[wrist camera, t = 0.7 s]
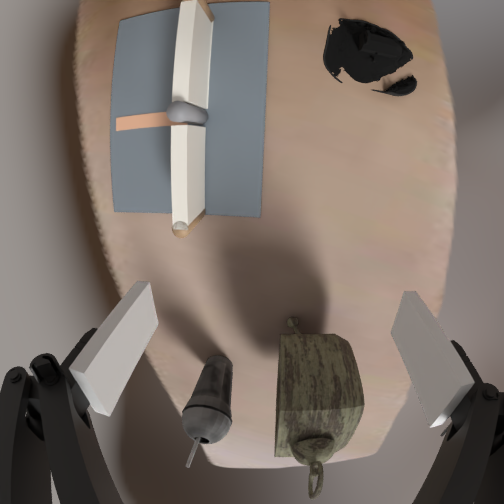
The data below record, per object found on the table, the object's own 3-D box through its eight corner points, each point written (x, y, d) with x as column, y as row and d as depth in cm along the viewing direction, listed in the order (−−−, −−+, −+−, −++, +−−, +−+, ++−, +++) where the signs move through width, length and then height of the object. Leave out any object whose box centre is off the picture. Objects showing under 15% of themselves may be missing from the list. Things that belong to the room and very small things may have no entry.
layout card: (121, 21, 24) (119, 20, 23) (269, 3, 23) (269, 1, 22) (115, 211, 35) (113, 212, 34) (260, 216, 34) (260, 217, 33)
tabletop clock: (280, 307, 39) (278, 479, 16) (342, 307, 38) (386, 468, 15) (276, 375, 44) (271, 510, 22) (328, 374, 44) (344, 506, 21)
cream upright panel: (191, 127, 29) (170, 125, 23) (206, 127, 29) (188, 124, 23) (191, 218, 34) (172, 237, 27) (205, 218, 34) (189, 238, 27)
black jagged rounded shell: (321, 84, 27) (329, 75, 23) (322, 16, 23) (328, 0, 19) (411, 102, 27) (430, 98, 22) (409, 37, 23) (425, 27, 18)
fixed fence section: (200, 14, 24) (178, -15, 16) (215, 13, 24) (198, -18, 16) (192, 125, 30) (166, 122, 22) (209, 125, 30) (186, 121, 22)
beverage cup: (246, 375, 45) (232, 477, 27) (209, 380, 46) (184, 475, 28) (231, 346, 42) (208, 457, 24) (191, 352, 44) (156, 453, 26)
